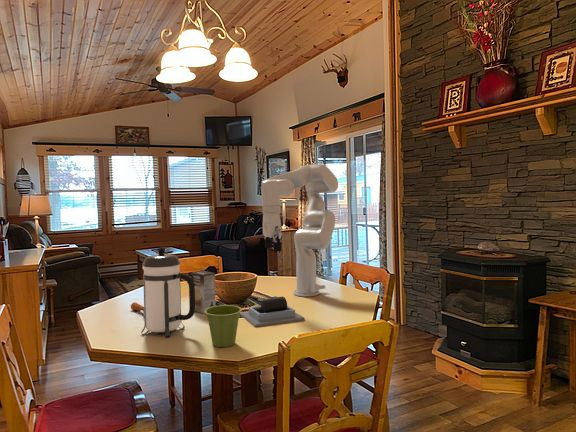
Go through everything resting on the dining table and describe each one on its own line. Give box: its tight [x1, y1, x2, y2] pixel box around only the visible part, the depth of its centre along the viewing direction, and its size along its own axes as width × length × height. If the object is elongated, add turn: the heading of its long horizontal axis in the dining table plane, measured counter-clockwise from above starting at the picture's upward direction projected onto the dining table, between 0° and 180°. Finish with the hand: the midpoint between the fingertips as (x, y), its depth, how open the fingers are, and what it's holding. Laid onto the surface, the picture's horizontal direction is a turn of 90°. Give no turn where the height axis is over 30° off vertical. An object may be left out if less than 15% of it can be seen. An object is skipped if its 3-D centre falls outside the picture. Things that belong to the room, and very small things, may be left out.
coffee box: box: [190, 270, 216, 315], centre depth 182 cm, size 9×6×16 cm
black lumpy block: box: [256, 295, 288, 314], centre depth 170 cm, size 10×7×7 cm
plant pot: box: [205, 304, 243, 348], centre depth 140 cm, size 12×12×11 cm
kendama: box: [130, 302, 144, 313], centre depth 177 cm, size 6×6×20 cm
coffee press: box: [140, 246, 196, 338], centre depth 153 cm, size 17×16×30 cm
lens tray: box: [240, 305, 306, 328], centre depth 170 cm, size 20×18×4 cm
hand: (273, 249), depth 185 cm, fingers open, 9 cm apart
